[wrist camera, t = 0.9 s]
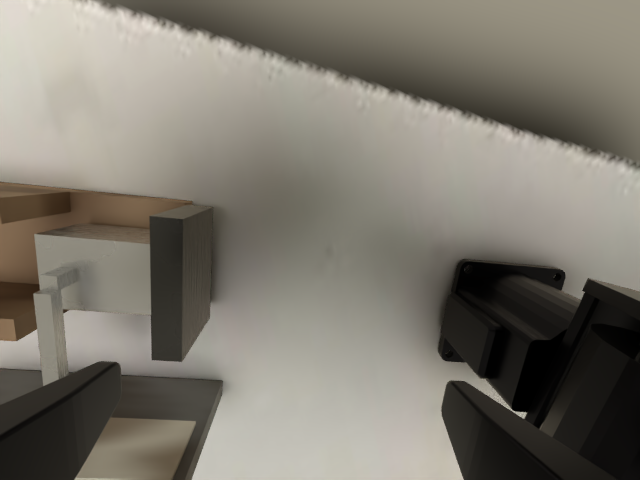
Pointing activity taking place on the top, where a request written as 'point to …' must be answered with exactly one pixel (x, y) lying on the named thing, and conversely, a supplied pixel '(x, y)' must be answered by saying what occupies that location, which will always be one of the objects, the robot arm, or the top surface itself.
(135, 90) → the top surface
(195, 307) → the box with dark endplate
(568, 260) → the top surface
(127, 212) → the frame
